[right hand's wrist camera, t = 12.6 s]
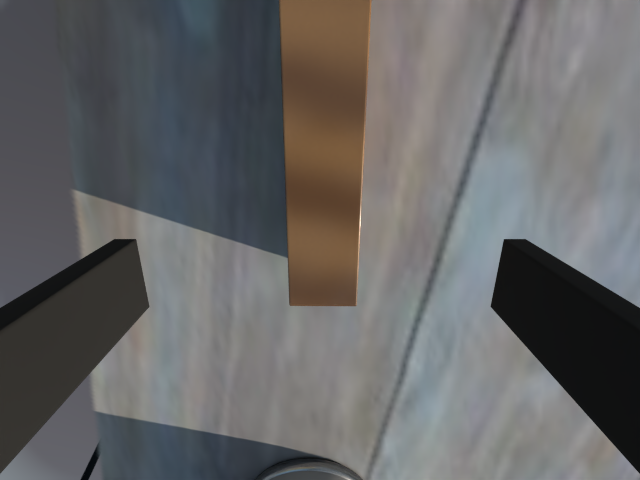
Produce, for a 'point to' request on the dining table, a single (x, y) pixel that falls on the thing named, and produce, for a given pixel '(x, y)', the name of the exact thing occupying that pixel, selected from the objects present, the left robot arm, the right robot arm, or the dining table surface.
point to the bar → (324, 144)
